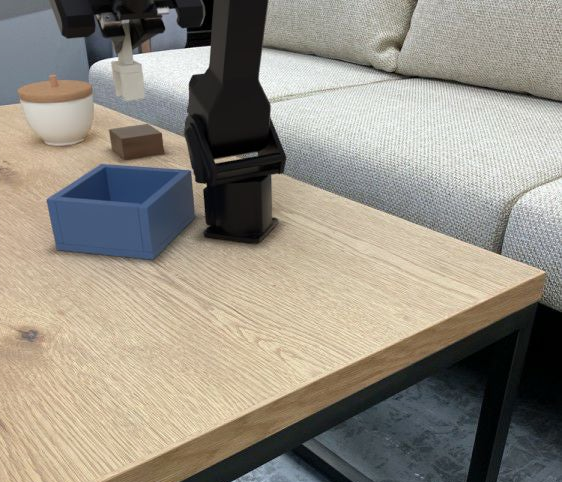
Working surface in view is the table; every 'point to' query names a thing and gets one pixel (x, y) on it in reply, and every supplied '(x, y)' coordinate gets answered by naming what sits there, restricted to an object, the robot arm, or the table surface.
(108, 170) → the box
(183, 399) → the table surface
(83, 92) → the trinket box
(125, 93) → the white bracket
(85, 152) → the table surface
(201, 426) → the table surface
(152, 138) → the block
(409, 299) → the table surface
